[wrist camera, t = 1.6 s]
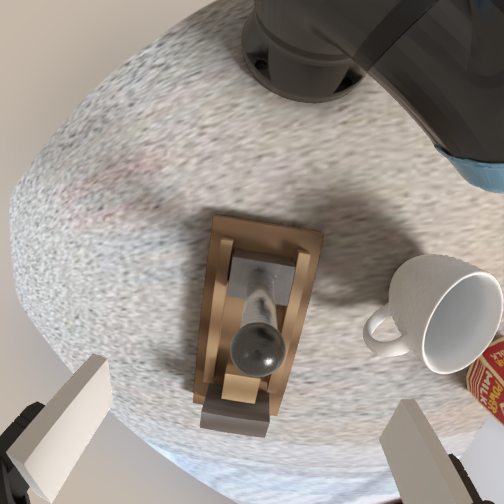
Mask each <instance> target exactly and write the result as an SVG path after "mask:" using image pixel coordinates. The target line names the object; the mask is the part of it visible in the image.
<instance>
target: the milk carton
mask: <svg viewBox="0 0 504 504" xmlns="http://www.w3.org/2000/svg"><path fill="white" fill-rule="evenodd" d="M466 382H467V390H468V391H469V392H470V394H471V395H472V396H473V397H474V398H475V399H476V400H477V401H478V402H479V403H480V404H481V405H482V406H483V407H484V408H485V409H486V410H487V411H488V412H489V413H490V414H491V415H492V416H493V417H494V418H495V419H496V420H498V421H499V422H500V423H501V424H502V425H503V426H504V336H503V337H501V338H499V339H497V340H495V341H493V342H492V343H490V344H489V345H488V347H487V348H486V349H485V351H484V352H483V353H482V354H481V355H480V356H479V357H478V358H477V359H476V360H475V361H474V362H472V363H471V365H470V367H469V370H468V373H467V375H466Z"/></svg>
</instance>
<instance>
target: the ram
mask: <svg viewBox="0 0 504 504" xmlns="http://www.w3.org/2000/svg"><path fill="white" fill-rule="evenodd" d="M295 268H296V267H295V264H294V262H293V259H292V257H286V256H280V255H275V254H269V253H263V252H257V251H251V250H245V249H239V248H237V249H236V251H235V253H234V255H233V259H232V266H231V273H230V279H229V286H228V293H227V296H230V297H236V298H242V299H245V303H244V309H243V315H242V320H241V326H240V329H239V330H238V331H237V332H236V333H235V334H234V336H233V338H232V340H231V343H230V356H231V359H232V362H233V363H234V365H235V366H236V368H237V369H238V370H239V371H241V372H242V373H244V374H246V375H248V376H252V377H264V376H267V375H270V374H272V373H274V372H275V371H276V370H277V369H278V368H279V367H280V366H281V365H282V363H283V361H284V359H285V356H286V344H285V340H284V338H283V336H282V335H281V333H280V332H279V331H278V329H277V317H276V305H275V304H278V305H285V306H287V305H288V301H289V296H290V292H291V287H292V283H293V278H294V273H295Z"/></svg>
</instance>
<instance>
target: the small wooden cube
mask: <svg viewBox="0 0 504 504" xmlns="http://www.w3.org/2000/svg"><path fill="white" fill-rule="evenodd" d="M260 379H261V377H252V376H248V375H246V374H244V373H242V372H241V371H239V370H238V369H237V368H236V366H235V365H234V363H233V362H232V359H231V356H230V355H229V358H228V363H227V368H226V372H225V379H224V385H223V392H222V398H221V399H227V400H233V401H239V402H246V403H253V404H255V400H256V396H257V392H258V388H259V384H260Z"/></svg>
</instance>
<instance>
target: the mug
mask: <svg viewBox="0 0 504 504" xmlns="http://www.w3.org/2000/svg"><path fill="white" fill-rule="evenodd" d="M502 311H503V295H502V290H501V287H500V285H499V283H498V281H497V279H496V278H495V277H494V276H493V275H491V274H490V273H489V272H486V271H484V270H482V269H480V268H478V267H476V266H474V265H471V264H469V263H468V262H464V261H462V260H459V259H456V258H454V257H449V256H447V255H445V256H443V255H436V254H432V255H430V254H426V255H420V256H416V257H414V258H411V259H409V260H408V261H406V262H405V263H403V264H402V265H401V266H400V267H399V268H398V269H397V271H396V272H395V274H394V275H393V277H392V280H391V283H390V288H389V302H388V303H387V304H385V305H384V306H383V307H381V308H380V309H379V310H377V311H376V312H375V313H374V314H373V315H372V316H371V317H370V318H369V319H368V320H367V322H366V323H365V325H364V329H363V337H364V341H365V343H366V345H367V347H368V348H369V349H370V350H371V351H372V352H374V353H375V354H378V355H381V356H398V355H402V354H405V353H407V352H409V351H411V350H413V351H414V352H415V354H416V355H417V356H418V357H419V358H420V359H421V360H422V361H423V363H424V364H425V365H426V366H427V367H428V368H429V369H430V370H431V371H433V372H435V373H439V374H449V373H454V372H457V371H459V370H462V369H463V368H465V367H467V366H468V365H470V364H471V363H472V362H474V361H475V360H476V359H477V358H478V357H479V356H480V355H481V354H482V353H483V352H484V351H485V349H486V348H487V347H488V345H489V344H490V343H491V341H492V339H493V337H494V336H495V334H496V331H497V329H498V327H499V324H500V320H501V317H502ZM391 315H392V316H393V320H394V321H395V324H396V326H397V327H398V330H399V331H400V333H401V334H402V336H401V337H399V338H398V339H395V340H393V341H390V342H380V341H377V340H375V339H373V338H372V333H373V331H374V330H375V328H376V327H377V326H378V325H379V324H380V323H381V322H382V321H383V320H385V319H386V318H388V317H390V316H391Z"/></svg>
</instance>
